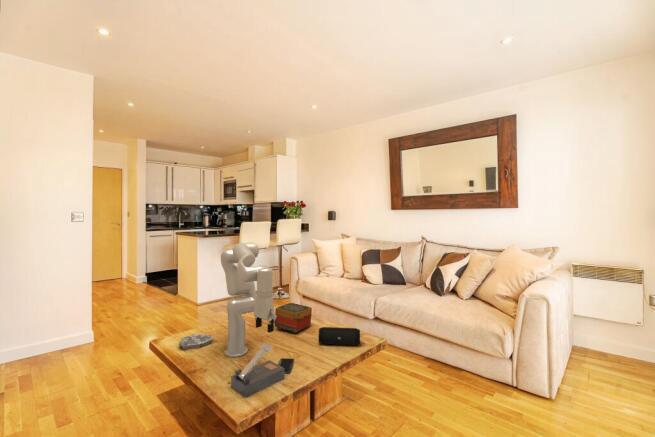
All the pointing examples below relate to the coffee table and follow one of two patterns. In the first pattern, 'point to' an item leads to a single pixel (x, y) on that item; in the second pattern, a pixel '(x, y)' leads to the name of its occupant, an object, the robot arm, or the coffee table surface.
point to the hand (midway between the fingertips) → (264, 329)
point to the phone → (286, 364)
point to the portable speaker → (339, 335)
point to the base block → (257, 378)
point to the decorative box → (293, 317)
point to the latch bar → (255, 360)
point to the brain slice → (195, 341)
